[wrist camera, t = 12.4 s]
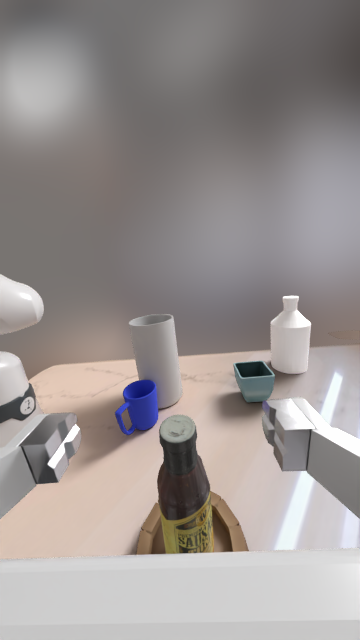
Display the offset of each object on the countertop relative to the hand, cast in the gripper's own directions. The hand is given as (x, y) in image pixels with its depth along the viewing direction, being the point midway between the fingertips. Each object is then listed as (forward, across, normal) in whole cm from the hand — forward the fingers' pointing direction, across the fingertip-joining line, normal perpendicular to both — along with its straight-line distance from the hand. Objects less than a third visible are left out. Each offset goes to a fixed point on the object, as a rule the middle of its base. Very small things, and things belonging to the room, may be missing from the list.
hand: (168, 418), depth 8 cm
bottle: (+55, -36, +31) cm, 73 cm away
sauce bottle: (+9, +1, +30) cm, 32 cm away
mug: (+32, +13, +32) cm, 47 cm away
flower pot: (+40, -18, +31) cm, 54 cm away
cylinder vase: (+44, +9, +32) cm, 55 cm away
